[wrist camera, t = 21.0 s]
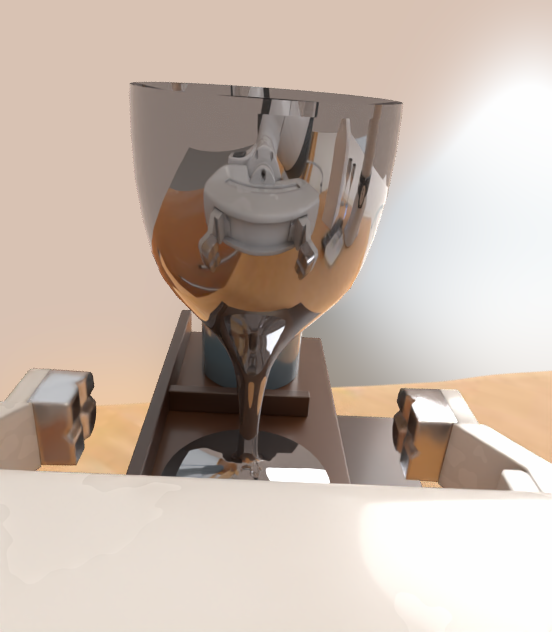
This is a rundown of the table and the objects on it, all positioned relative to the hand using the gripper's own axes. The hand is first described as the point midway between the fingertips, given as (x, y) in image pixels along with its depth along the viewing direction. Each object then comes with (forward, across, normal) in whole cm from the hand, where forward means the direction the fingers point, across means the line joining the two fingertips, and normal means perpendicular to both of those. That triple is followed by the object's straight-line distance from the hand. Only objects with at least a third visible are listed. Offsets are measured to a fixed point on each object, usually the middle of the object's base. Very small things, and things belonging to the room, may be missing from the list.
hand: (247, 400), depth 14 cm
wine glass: (+5, 0, +8) cm, 9 cm away
